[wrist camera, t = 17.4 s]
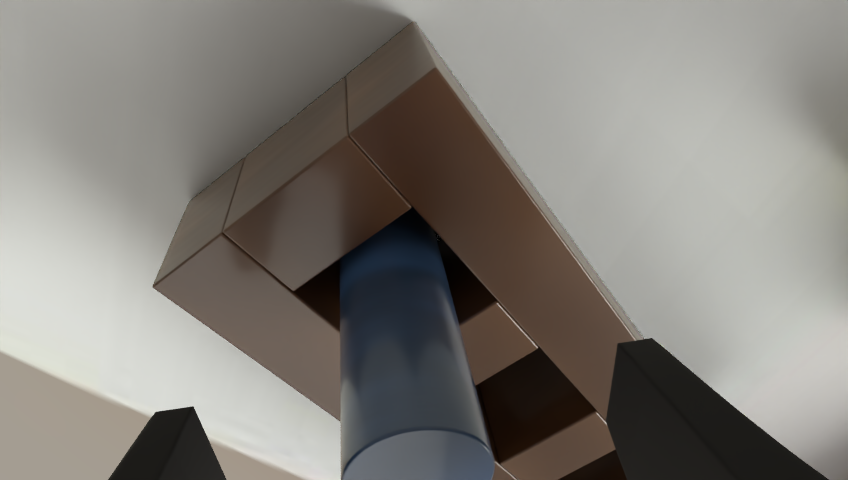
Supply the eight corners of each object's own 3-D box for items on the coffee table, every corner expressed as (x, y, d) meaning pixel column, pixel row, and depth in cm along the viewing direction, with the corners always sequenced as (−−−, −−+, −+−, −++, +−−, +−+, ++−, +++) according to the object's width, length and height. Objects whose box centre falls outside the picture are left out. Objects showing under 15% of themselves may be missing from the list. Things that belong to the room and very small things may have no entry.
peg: (443, 193, 15) (523, 445, 9) (405, 262, 16) (451, 532, 10) (360, 161, 15) (379, 413, 8) (326, 236, 16) (318, 512, 9)
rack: (414, 19, 13) (436, 66, 10) (691, 404, 22) (745, 487, 19) (187, 202, 15) (150, 287, 12) (530, 488, 23) (557, 577, 21)
